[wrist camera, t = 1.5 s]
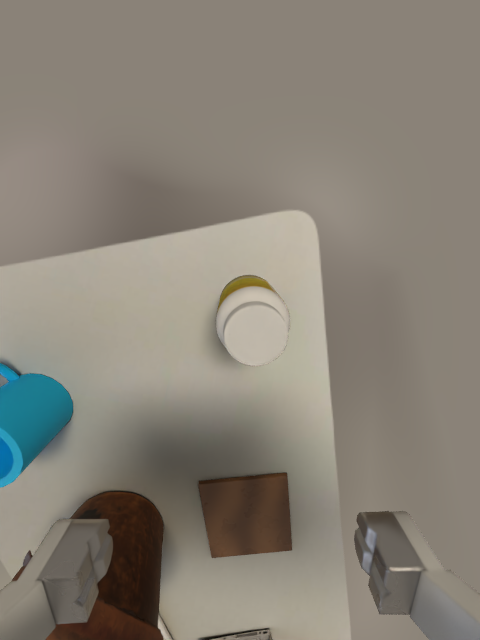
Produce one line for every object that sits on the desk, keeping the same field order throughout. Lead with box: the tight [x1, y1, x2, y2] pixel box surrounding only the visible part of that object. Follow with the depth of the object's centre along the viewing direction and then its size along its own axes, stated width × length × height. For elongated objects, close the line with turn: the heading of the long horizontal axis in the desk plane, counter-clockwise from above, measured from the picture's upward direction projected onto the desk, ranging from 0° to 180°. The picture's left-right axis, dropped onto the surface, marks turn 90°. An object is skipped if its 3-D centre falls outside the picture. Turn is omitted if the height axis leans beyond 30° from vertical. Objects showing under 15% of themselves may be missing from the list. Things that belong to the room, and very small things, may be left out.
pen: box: [158, 615, 172, 640], centre depth 45 cm, size 1×19×1 cm, turn 14°
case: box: [12, 492, 163, 640], centre depth 30 cm, size 18×20×18 cm
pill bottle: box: [216, 275, 290, 366], centre depth 24 cm, size 6×6×11 cm
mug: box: [0, 363, 73, 487], centre depth 28 cm, size 12×8×8 cm
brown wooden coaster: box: [198, 473, 292, 558], centre depth 38 cm, size 12×14×1 cm
